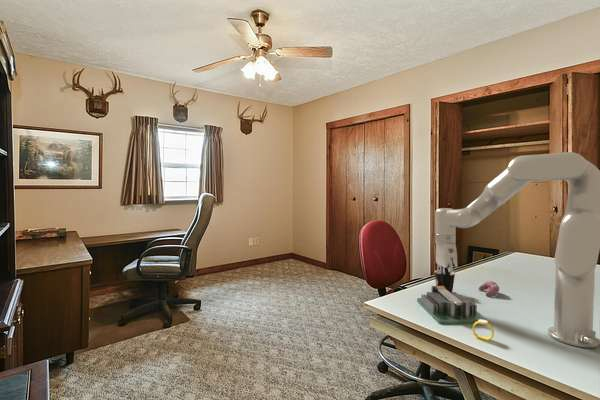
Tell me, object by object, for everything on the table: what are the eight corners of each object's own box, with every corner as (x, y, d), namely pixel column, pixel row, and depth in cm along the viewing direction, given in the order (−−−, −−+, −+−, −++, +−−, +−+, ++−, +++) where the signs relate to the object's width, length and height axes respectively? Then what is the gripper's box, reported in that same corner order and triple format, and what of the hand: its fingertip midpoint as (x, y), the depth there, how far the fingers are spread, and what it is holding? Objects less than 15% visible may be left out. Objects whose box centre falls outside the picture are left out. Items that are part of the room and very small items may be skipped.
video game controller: (495, 300, 140) (503, 287, 139) (485, 295, 141) (493, 282, 140) (486, 293, 150) (493, 281, 149) (477, 288, 150) (484, 276, 150)
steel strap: (463, 306, 115) (463, 302, 115) (455, 306, 115) (455, 302, 115) (442, 289, 133) (442, 286, 133) (435, 289, 133) (435, 286, 133)
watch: (472, 338, 103) (471, 320, 103) (473, 335, 105) (472, 317, 105) (493, 342, 99) (492, 323, 99) (494, 339, 102) (493, 320, 102)
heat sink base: (486, 323, 113) (486, 304, 113) (439, 323, 113) (439, 304, 113) (456, 301, 135) (456, 285, 135) (417, 301, 135) (417, 285, 135)
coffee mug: (435, 289, 151) (435, 269, 151) (455, 292, 147) (455, 271, 146) (432, 296, 141) (432, 274, 141) (453, 300, 137) (453, 277, 137)
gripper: (464, 241, 120) (464, 289, 120) (446, 235, 134) (446, 278, 135) (444, 241, 120) (444, 289, 120) (428, 236, 135) (428, 278, 135)
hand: (445, 283), depth 128 cm, fingers closed
